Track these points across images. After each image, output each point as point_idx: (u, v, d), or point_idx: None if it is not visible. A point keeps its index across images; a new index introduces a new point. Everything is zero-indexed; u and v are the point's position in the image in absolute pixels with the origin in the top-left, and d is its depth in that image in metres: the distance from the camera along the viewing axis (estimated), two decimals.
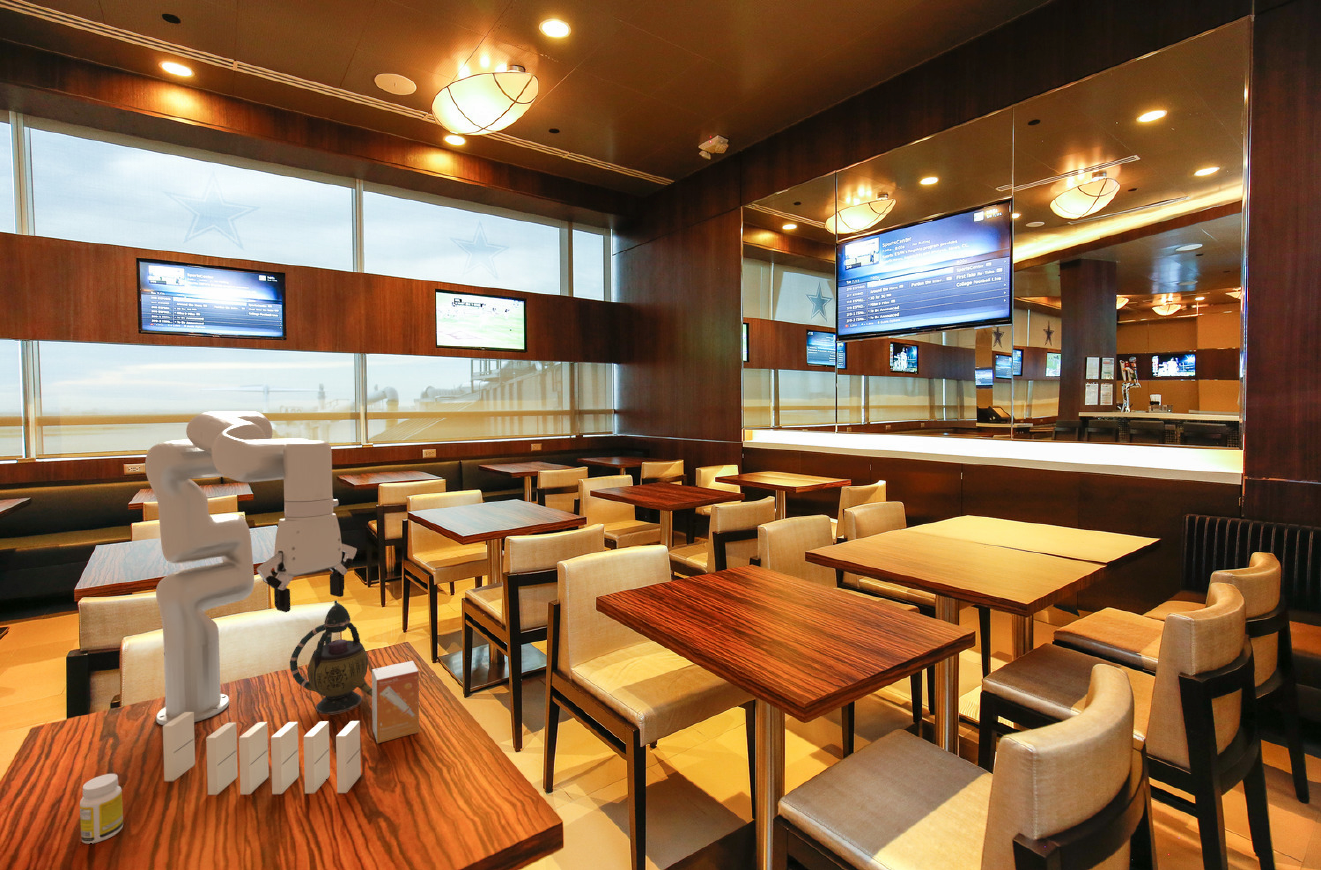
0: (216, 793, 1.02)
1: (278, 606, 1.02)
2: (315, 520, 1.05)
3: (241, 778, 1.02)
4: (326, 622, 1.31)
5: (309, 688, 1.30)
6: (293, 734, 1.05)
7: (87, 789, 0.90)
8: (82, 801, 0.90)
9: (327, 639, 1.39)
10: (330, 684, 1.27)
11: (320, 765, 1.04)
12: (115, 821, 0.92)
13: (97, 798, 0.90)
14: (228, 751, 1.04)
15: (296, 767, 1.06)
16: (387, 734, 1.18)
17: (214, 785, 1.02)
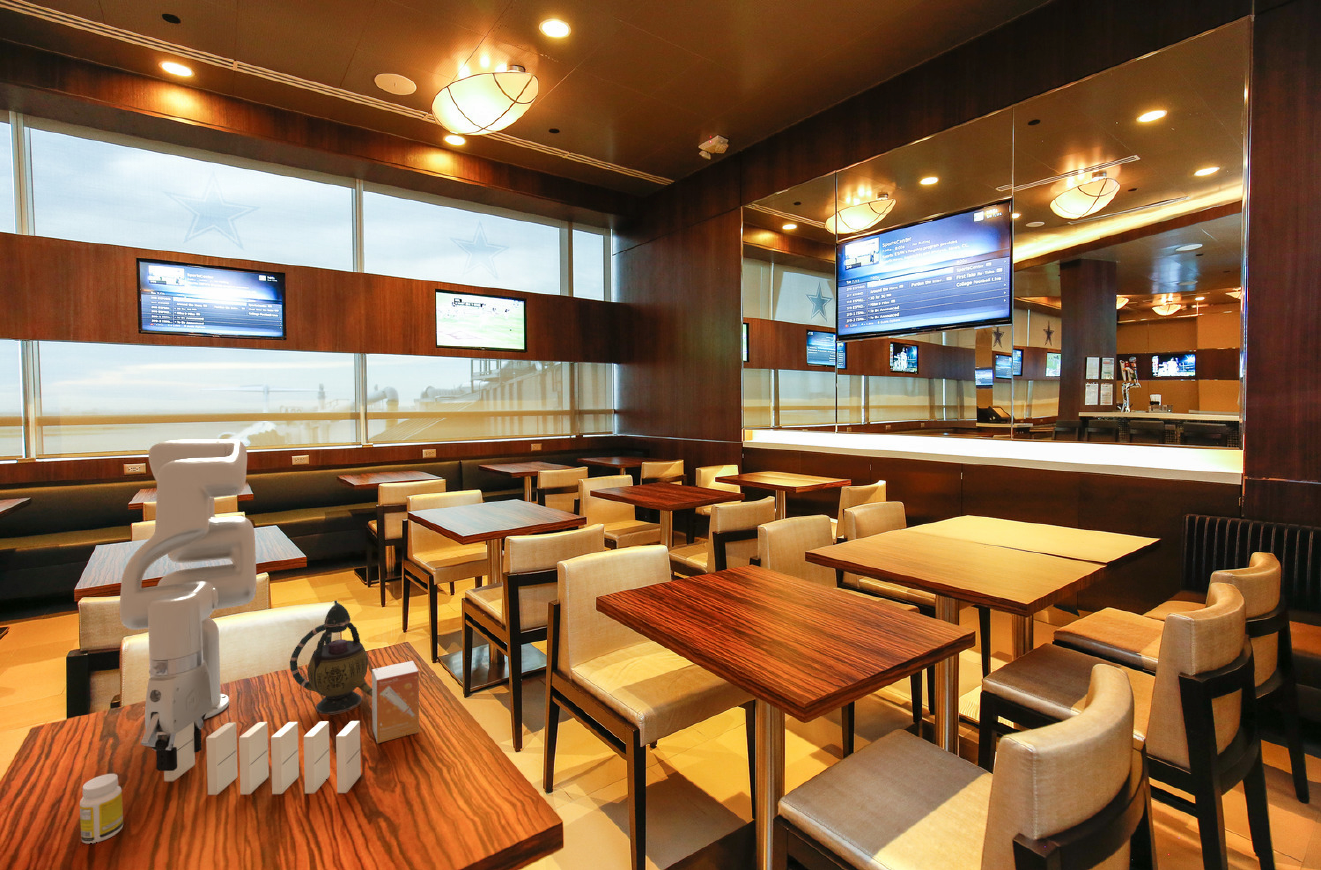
0: (216, 793, 1.02)
1: None
2: None
3: (241, 778, 1.02)
4: (326, 622, 1.31)
5: (309, 688, 1.30)
6: (293, 734, 1.05)
7: (87, 789, 0.90)
8: (82, 801, 0.90)
9: (327, 639, 1.39)
10: (330, 684, 1.27)
11: (320, 765, 1.04)
12: (115, 821, 0.92)
13: (96, 798, 0.90)
14: (228, 751, 1.04)
15: (296, 767, 1.06)
16: (387, 734, 1.18)
17: (214, 785, 1.02)
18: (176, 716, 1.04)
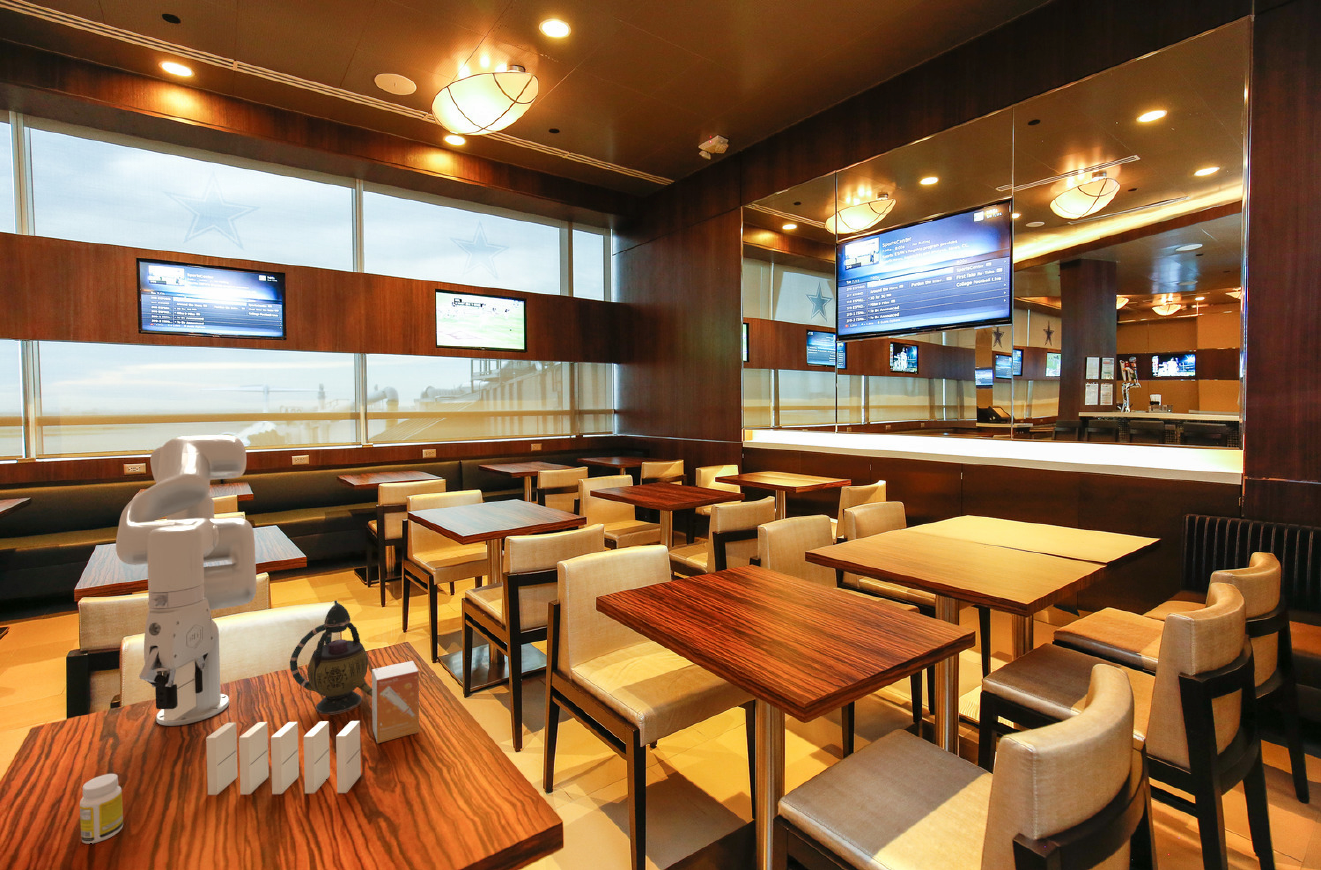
0: (216, 793, 1.02)
1: None
2: None
3: (241, 778, 1.02)
4: (326, 622, 1.31)
5: (309, 688, 1.30)
6: (293, 734, 1.05)
7: (87, 789, 0.90)
8: (82, 801, 0.90)
9: (327, 639, 1.39)
10: (330, 684, 1.27)
11: (320, 765, 1.04)
12: (115, 821, 0.92)
13: (97, 798, 0.90)
14: (228, 751, 1.04)
15: (296, 767, 1.06)
16: (387, 734, 1.18)
17: (214, 785, 1.02)
18: (176, 651, 0.99)
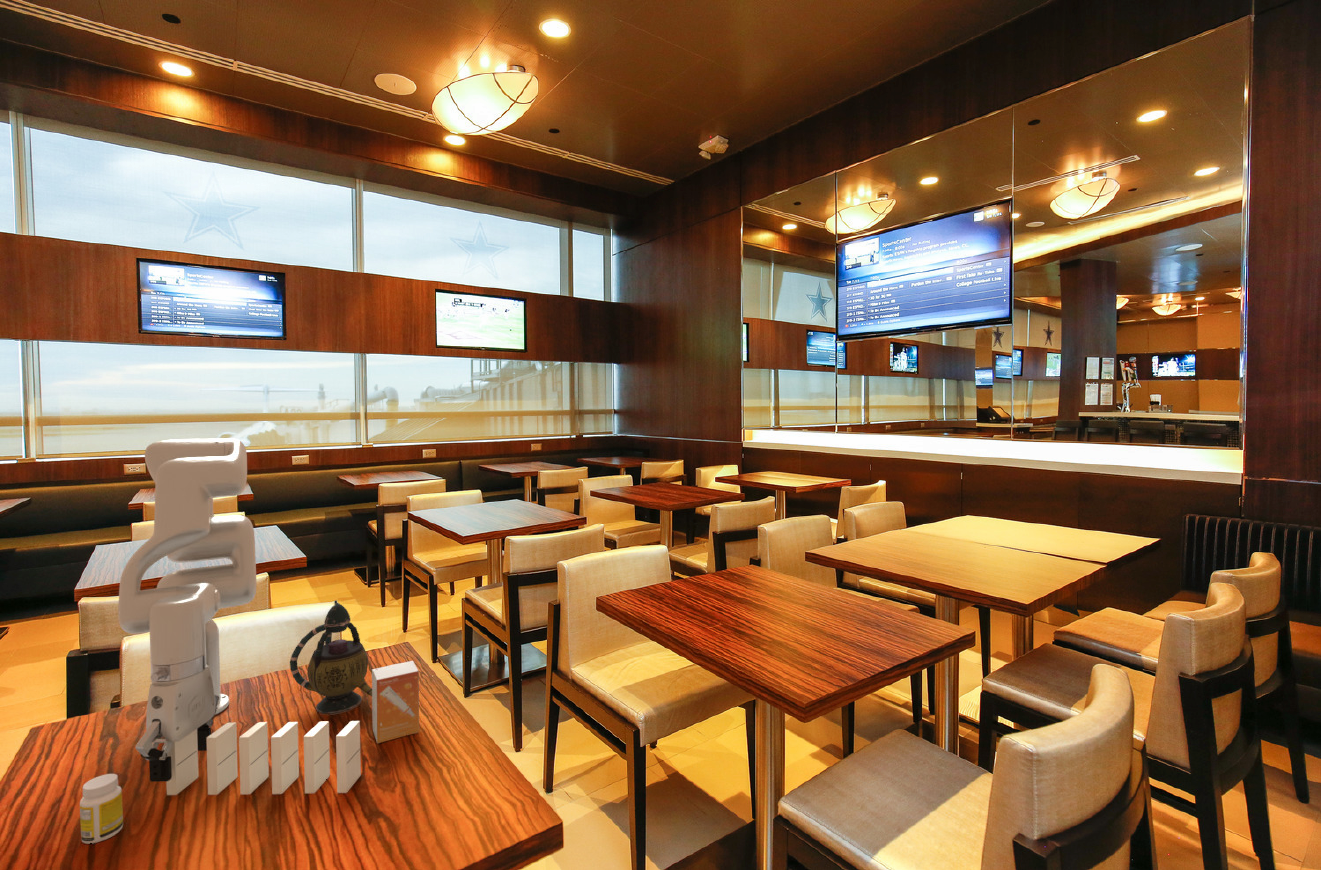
0: (216, 793, 1.02)
1: None
2: None
3: (241, 778, 1.02)
4: (326, 622, 1.31)
5: (309, 688, 1.30)
6: (293, 734, 1.05)
7: (87, 789, 0.90)
8: (82, 801, 0.90)
9: (327, 639, 1.39)
10: (330, 684, 1.27)
11: (320, 765, 1.04)
12: (115, 821, 0.92)
13: (96, 798, 0.90)
14: (228, 751, 1.04)
15: (296, 767, 1.06)
16: (387, 734, 1.18)
17: (214, 785, 1.02)
18: (178, 723, 1.00)
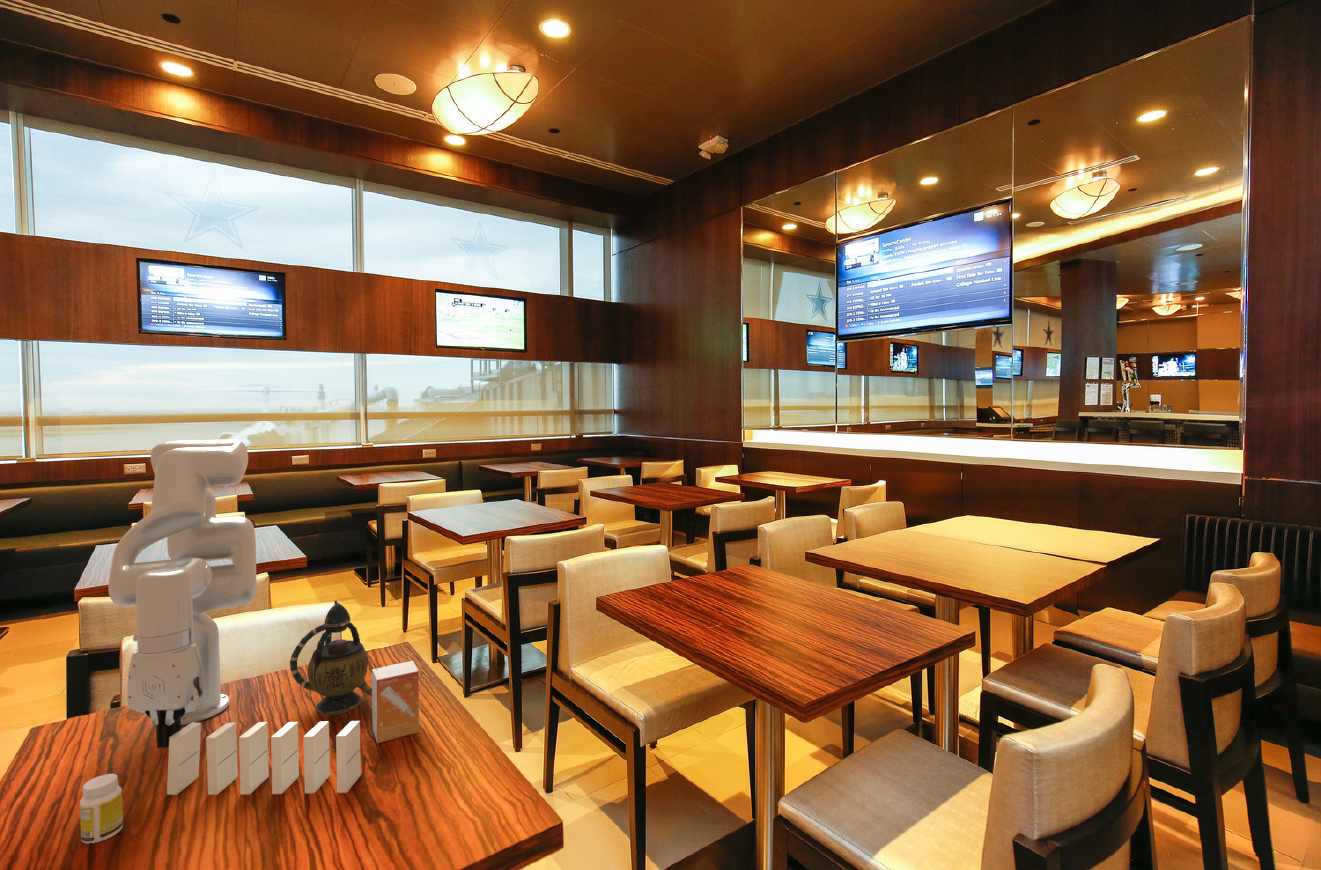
0: (216, 793, 1.02)
1: None
2: None
3: (241, 778, 1.02)
4: (326, 622, 1.31)
5: (309, 688, 1.30)
6: (293, 734, 1.05)
7: (87, 789, 0.90)
8: (82, 801, 0.90)
9: (327, 639, 1.39)
10: (330, 684, 1.27)
11: (320, 765, 1.04)
12: (115, 821, 0.92)
13: (96, 798, 0.90)
14: (228, 751, 1.04)
15: (296, 767, 1.06)
16: (387, 734, 1.18)
17: (214, 785, 1.02)
18: (132, 693, 1.01)
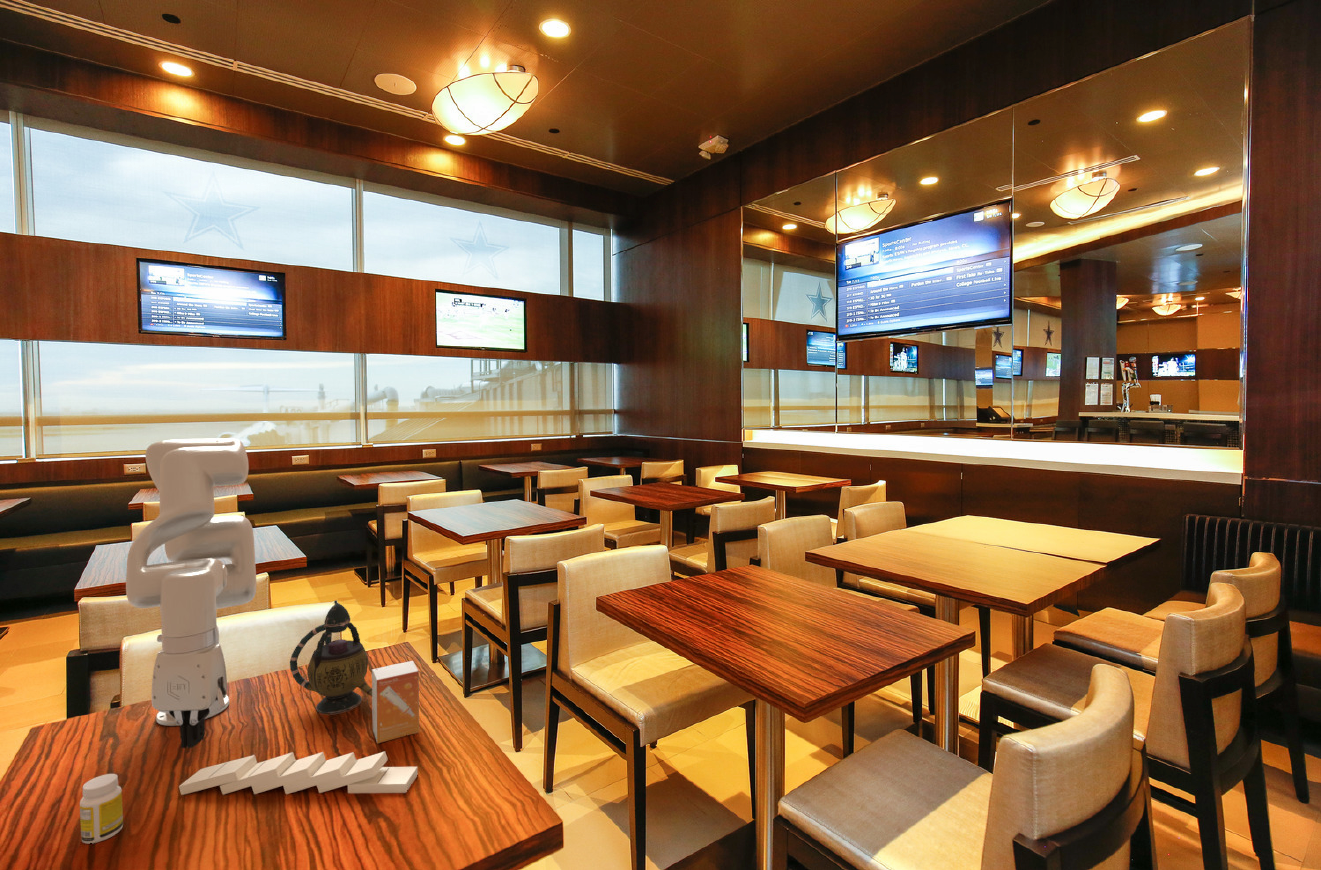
0: (223, 793, 1.02)
1: (203, 736, 1.04)
2: None
3: (267, 782, 1.02)
4: (326, 622, 1.31)
5: (309, 688, 1.30)
6: None
7: (87, 789, 0.90)
8: (82, 801, 0.90)
9: (327, 639, 1.39)
10: (330, 684, 1.27)
11: None
12: (115, 821, 0.92)
13: (96, 798, 0.90)
14: None
15: None
16: (387, 734, 1.18)
17: (230, 789, 1.02)
18: (156, 693, 1.01)
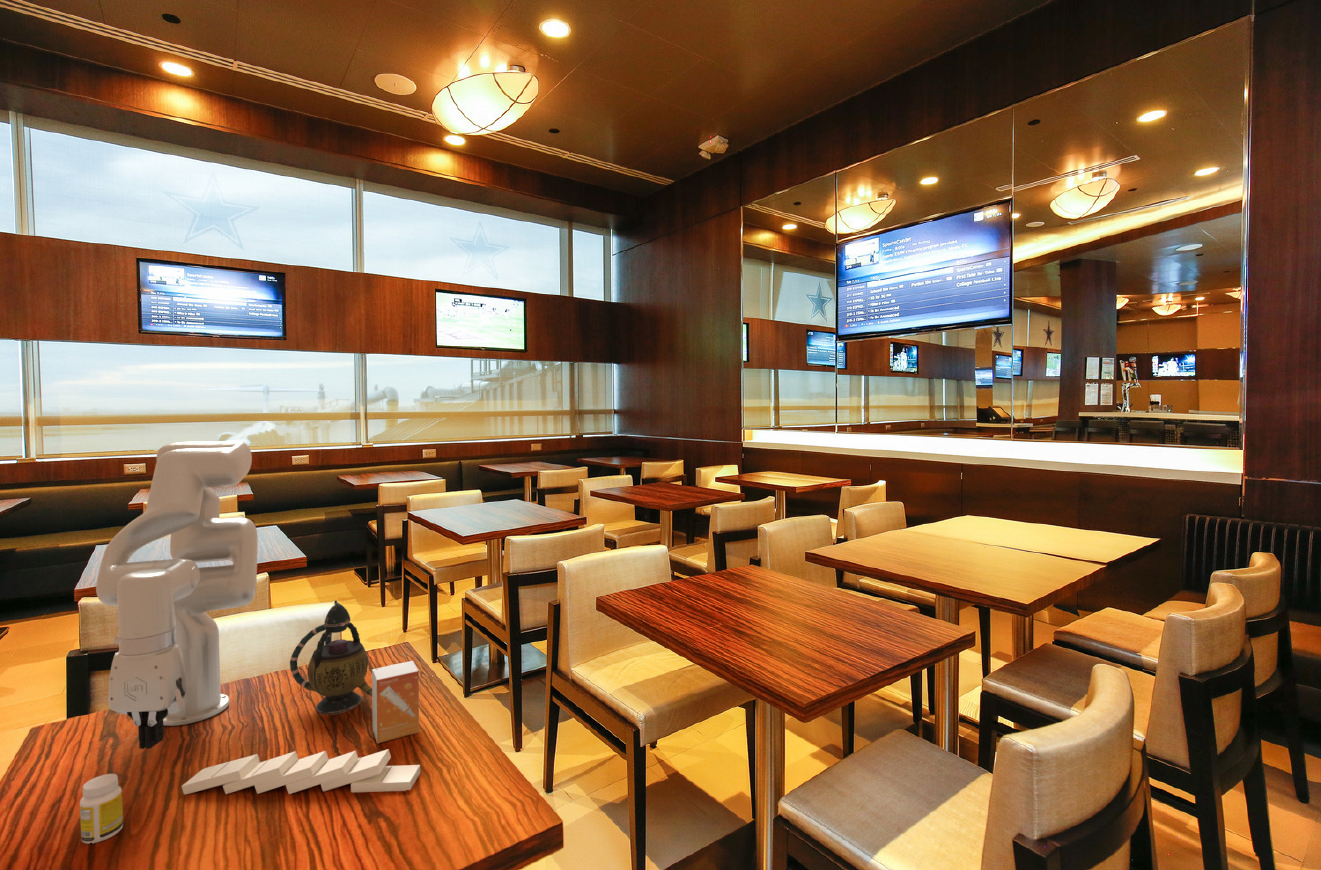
0: (226, 793, 1.02)
1: (162, 736, 1.04)
2: None
3: (270, 781, 1.02)
4: (326, 622, 1.31)
5: (309, 688, 1.30)
6: None
7: (87, 789, 0.90)
8: (82, 801, 0.90)
9: (327, 639, 1.39)
10: (330, 684, 1.27)
11: None
12: (115, 821, 0.92)
13: (96, 798, 0.90)
14: None
15: None
16: (387, 734, 1.18)
17: (233, 788, 1.02)
18: (113, 694, 1.01)
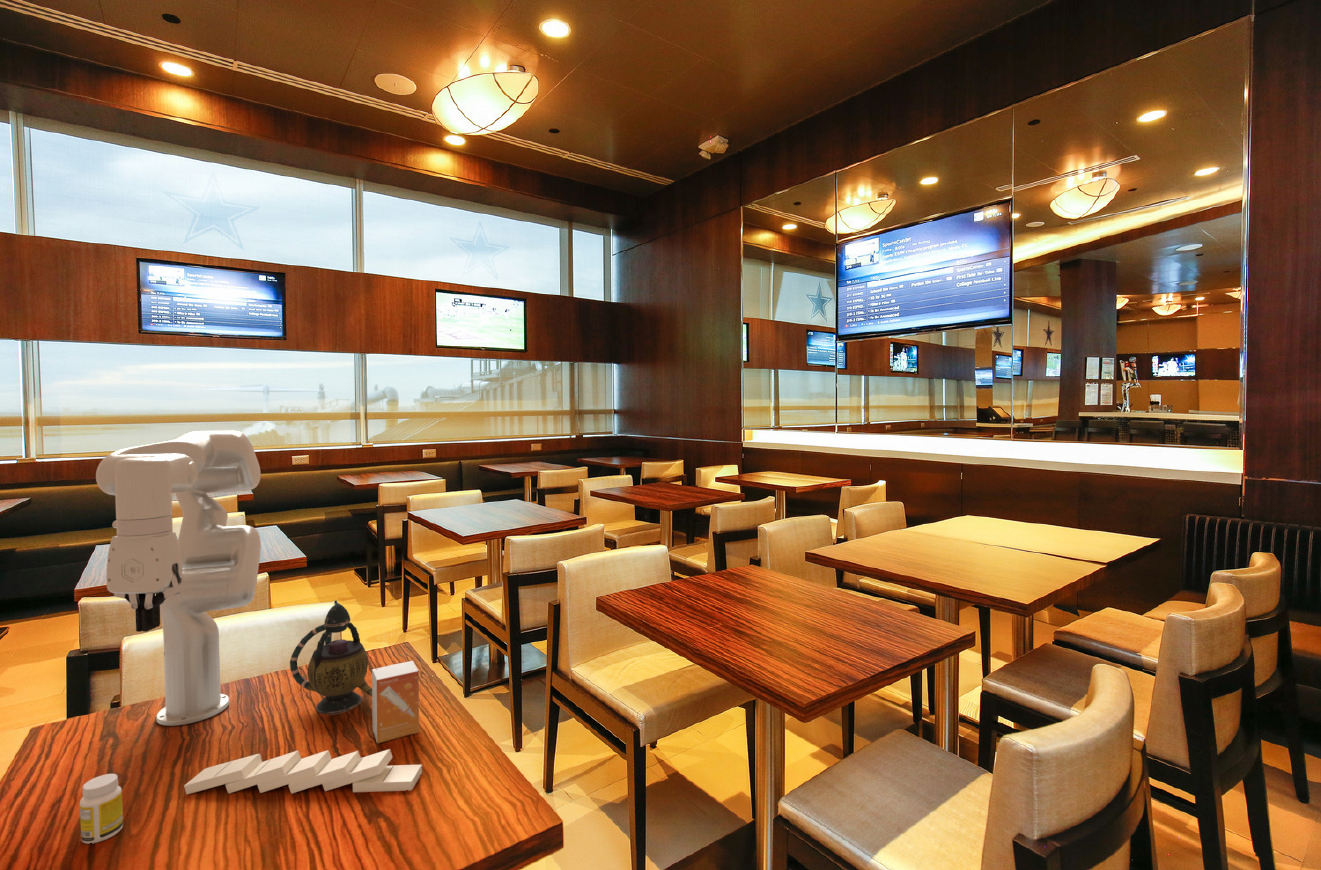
0: (229, 792, 1.02)
1: (158, 621, 1.06)
2: None
3: (273, 780, 1.02)
4: (326, 622, 1.31)
5: (309, 688, 1.30)
6: None
7: (87, 789, 0.90)
8: (82, 801, 0.90)
9: (327, 639, 1.39)
10: (330, 684, 1.27)
11: None
12: (115, 821, 0.92)
13: (96, 798, 0.90)
14: None
15: None
16: (387, 734, 1.18)
17: (236, 788, 1.02)
18: (111, 576, 1.03)
